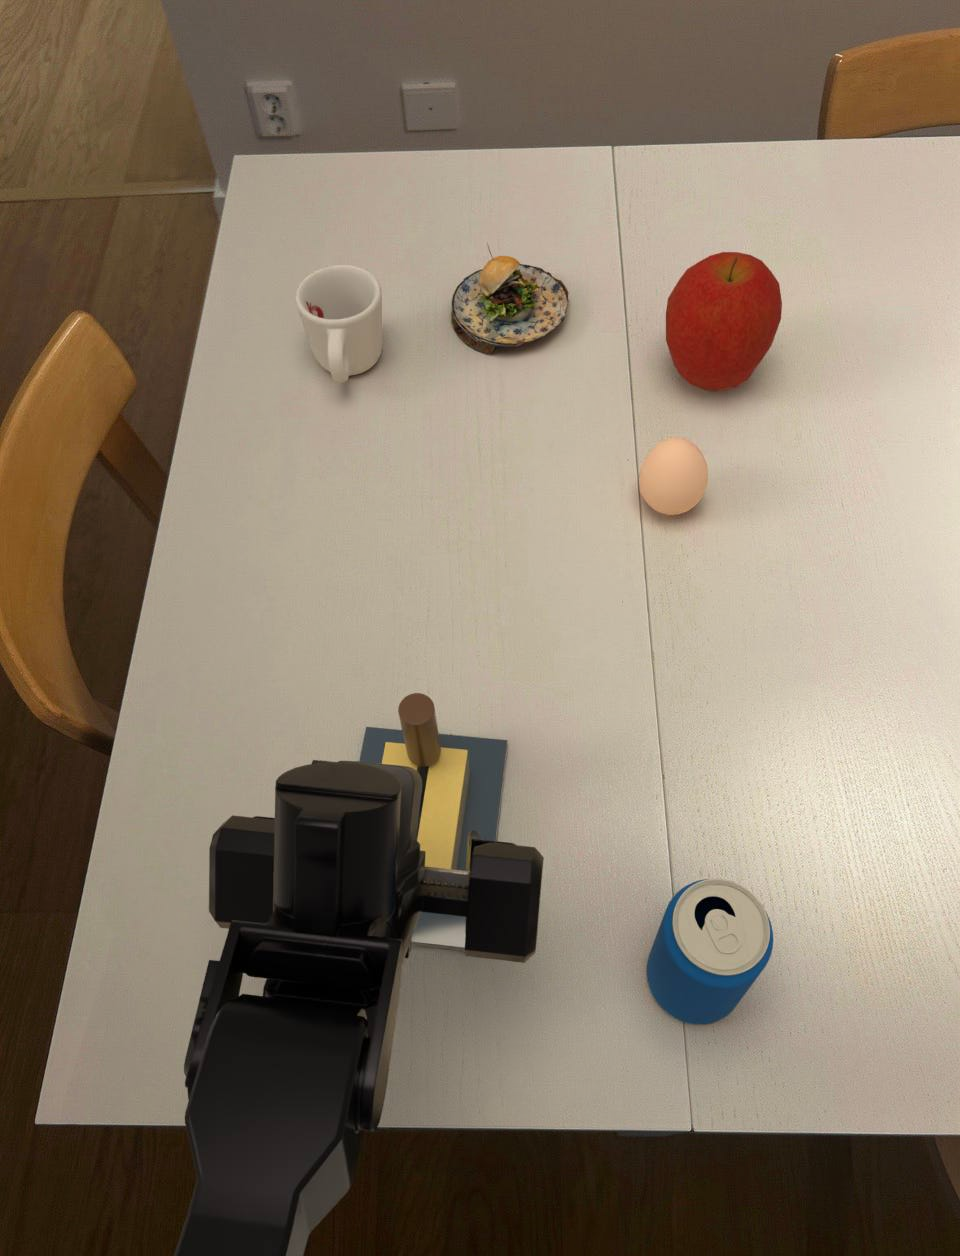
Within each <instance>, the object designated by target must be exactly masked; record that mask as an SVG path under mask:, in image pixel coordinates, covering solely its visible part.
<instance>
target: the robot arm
mask: <svg viewBox="0 0 960 1256" xmlns="http://www.w3.org/2000/svg"><path fill="white" fill-rule="evenodd" d="M421 794H422V779H421V776H420V774H419V773H418V772H417V771H416V770H415V769H413V768H411V767H407V766H399V765H389V764H379V763H368V762H359V760H358V761H357V760H338V761H331V760H320V759H313V760H312V761H311V763H309V764H304V765H300V766H298V767H293V768H291V769H289V770H287V771H284V772H283V773H281V774H280V775H279V776H278V777H277V779H276V780H275V786H274V817H269V816H260V815H256V816H253V817H251V816H242V815H231V816H230V817H229V818H227V819H226V820H225V821H224V822H222V824H221V825H220V826H219V827H218V828H217V829H216V831H214V833H213V834H212V837H211V841H210V844H209V849H208V850H209V852H208V853H209V854H208V855H209V856H208V857H209V865H208V913H209V914H210V916H211V918H213V920H214V922H215V923H216V924H217V925H218V927H219V928H221V929H228V931H227V935H226V939H225V942H224V944H223V948H222V952H221V954H220V958H219V960H215V959H209V960H208V963H207V966H206V971H205V975H204V979H203V983H202V987H201V992H200V996H199V999H198V1004H197V1009H196V1012H195V1017H194V1021H193V1024H192V1029H191V1032H190V1038H189V1041H188V1046H187V1049H186V1054H185V1058H184V1063H183V1073H184V1076H185V1080H184V1087H185V1088H186V1089H187V1099H188V1102H187V1105H186V1108H185V1112H184V1124H185V1129H186V1135H187V1139H188V1144H189V1147H190V1153H191V1157H192V1161H193V1162H192V1163H193V1166H194V1171H195V1176H196V1181H195V1185H194V1188H193V1191H192V1196H191V1200H190V1203H189V1206H188V1210H187V1212H186V1213H187V1214H186V1217H185V1220H184V1222H183V1223H184V1224H183V1226H182V1230H181V1233H180V1235H179V1237H178V1242H177V1244H176V1248H175V1251H174V1254H173V1256H304V1255H305V1250H306V1247H307V1244H308V1239H309V1236H310V1234H311V1233H312V1231H313V1230H314V1229H315V1228H316V1227H317V1226H318V1225H319V1224H320V1223H321V1222H322V1220H324V1219H325V1217H326V1216H327V1215H329V1213H330V1212H331V1211H332V1210H333V1208H334V1207H335V1206H336V1205H337V1204H338V1203H339V1202H340V1201H341V1200H342V1199H343V1198H344V1196H345V1195H346V1194H347V1193H348V1192H349V1190H350V1189H351V1186H352V1183H353V1179H354V1175H355V1170H356V1167H357V1163H358V1158H359V1154H360V1151H361V1146H362V1143H363V1138H364V1134H365V1131H366V1132H376V1131H377V1129H378V1128H379V1126H380V1125H379V1124H380V1122H381V1119H382V1118H381V1117H382V1113H383V1108H384V1104H385V1099H386V1095H387V1094H386V1093H387V1087H388V1080H389V1073H390V1064H391V1057H392V1050H393V1044H394V1043H393V1042H394V1035H395V1029H396V1021H397V1012H398V1006H399V998H400V990H401V984H402V970H403V969H402V968H403V964H404V962H405V959H409V957H410V955H411V951H412V948H413V947H412V946H413V945H412V935H413V933H414V930H415V927H416V924H417V921H418V918H419V915H420V912H428V913H437V914H446V915H455V916H464V917H466V923H465V934H466V937H465V951H464V955H465V957H468V958H469V957H470V958H479V959H488V960H496V961H503V962H514V963H520V964H521V963H522V964H525V963H526V962H527V961H528V960H530V959H531V958H532V957H533V956H534V955H535V954H536V951H537V945H538V944H537V943H538V934H539V933H538V932H539V921H540V909H541V898H542V897H541V896H542V884H543V872H544V860H545V857H544V856H543V854H542V853H541V852H540V851H539V850H538V849H537V848H536V847H535V846H527V845H519V844H515V843H514V842H506V841H497V840H496V841H489V840H483V839H482V838H481V836H480V835H479V834H478V832H477V831H472V830H471V831H470V832H469V835H468V843H467V859H466V871H462V870H453V869H444V868H434V867H425V851H420V843H419V842H418V841H417V840H416V838H417V829H418V819H419V809H420V800H421ZM424 881H426V882H424ZM431 882H433V883H431ZM438 882H440V884H438ZM445 883H447V885H446V884H445ZM452 884H454V885H452ZM459 885H461V886H459ZM465 886H466V887H465ZM244 974H245V975H246V976H248V977H250V978H258V979H266V980H265V982H264V985H263V990H262V995H256V994H249V993H248V994H247V993H241V994H240V991H241V988H242V982H243V981H242V980H243V977H244Z"/></svg>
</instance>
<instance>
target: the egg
mask: <svg viewBox="0 0 960 1256" xmlns="http://www.w3.org/2000/svg"><path fill="white" fill-rule="evenodd" d="M638 480H639V481H638V482H639V483H638V484H639V490H640V492H641V495H642V498H643V500H645V503H647V505H648V506H649V507H650V508H651V509H653V510H654V511H656V512H658V513H659V514H664V515H668V516H674V515H680V514H684V513H687V512H688V511H690V510H692V508H693V509H694V507H695V506H696V505H697V504H698V503H699V502H700V501H701V500H702V498H703V497H704V495H705V492H706V489H707V487H708V480H709V467H708V463H707V460H706V458H705V456H704V454H703V452H702V450H701V449H700V448H699V447H698V445H697V444H695V443H694V442H693V441H691V440H689V439H686V438H684V437H677V436H676V437H675V436H674V437H669V438H666V439H664V440H662V441H660V442H658V443H657V444H655V446H653V447H652V449H651V450H650V451H649V452H648V453H647V454H646V456H645V457H644V460H643V462H642V464H641V466H640V470H639V475H638Z"/></svg>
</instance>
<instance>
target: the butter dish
mask: <svg viewBox="0 0 960 1256" xmlns="http://www.w3.org/2000/svg"><path fill="white" fill-rule="evenodd" d="M438 734H439V740H440V747H441V754H440V757H439V759H438V760H437V761H436V762H435V763H434V764H432V765H430V766H429V769H428V775H427V782H426V781H425V775H424V770H423V767H421V766H417V765H415V764H413V763H412V762H411V761H410V760H409V758H408V755H407V750H406V745H405V741H404V736H403V731H402V729H394V728H384V727H374V726H365V729H364V735H363V740H362V746H361V750H360V755H359V760H358V761H359V762H368V763H379V764H389V765H399V766H407V767H411V768H413V769H415V770H416V771H417V772H418V773H419V774H420V776H421V779H422V794H421V800H420V809H419V819H418V829H417V838H416V840H417V841H418V842H419V843H420V851H425V867H434V868H444V869H453V870H462V871H466V859H467V843H468V835H469V832H470V831H471V830H472V831H477V832H478V834H479V835H480V836H481V838H482V839H483V840H489V841H497V837H498V827H499V823H500V822H499V821H500V814H501V813H500V812H501V803H502V797H503V796H502V795H503V787H504V779H505V772H506V771H505V770H506V762H507V754H508V748H509V747H508V746H509V743H508V742H509V741H508V740H507V739H500V738H488V737H479V736H468V735H459V734H458V735H457V734H447V733H438ZM424 882H426V881H424ZM431 883H433V882H431ZM438 884H440V882H438ZM445 884H446V885H447V883H445ZM452 885H454V884H452ZM459 886H461V885H459ZM465 887H466V886H465ZM465 923H466V917H464V916H455V915H446V914H437V913H428V912H420V915H419V918H418V921H417V924H416V927H415V930H414V933H413V935H412V946H417V947H426V948H433V949H443V950H450V951H458V952H459V951H461V952H465V937H466V934H465Z"/></svg>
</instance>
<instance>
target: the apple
mask: <svg viewBox="0 0 960 1256" xmlns="http://www.w3.org/2000/svg"><path fill="white" fill-rule="evenodd" d="M782 311H783V300H782V293H781V287H780V282H779V281H778V279H777V278H776V276H775V274H773V271H772V270H771V269H770V268H769V267H768V265H766V263H764V262H763V260H761V259H759V258H758V257H755V256H754V255H752V254H748V253H743V252H738V251H722V252H719V253H713V254H710V255H708V256H707V257H705V258H703V259H702V260H699V261H698V262H696V263H694V264H693V265H691V266H690V267H688V268H686V270H685V271H684V272H683V274H682V275H681V276H680V278H679V279H678V281H677V282H676V284H675V286H674V287H673V289H672V290H671V292H670V294H669V296H668V297H667V302H666V310H665V343H666V346H667V349H668V352H669V354H670V358H671V361H672V364H673V366H674V368H675V369H676V371H677V372H678V374H679V376H680V377H681V378H683V380H685V381H686V382H688V384H690V385H692V386H695V387H697V388H700V389H703V390H705V391H715V392H717V391H724V390H729V389H733V388H734V389H735V388H738V387H739V386H741V385H742V384H744V383H745V382H746V381H748V380H749V379H750V377H751V376H752V375H753V373H754V371H756V369H757V367H758V366H759V365H760V363H761V362H762V361H763V359H764V358H765V356H766V355H767V354H768V352H769V350H770V349H771V348H772V346H773V343H774V340H775V337H776V334H777V331H778V329H779V326H780V324H781V320H782Z"/></svg>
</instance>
